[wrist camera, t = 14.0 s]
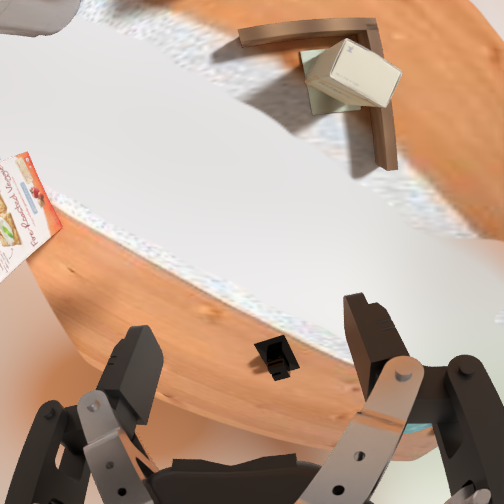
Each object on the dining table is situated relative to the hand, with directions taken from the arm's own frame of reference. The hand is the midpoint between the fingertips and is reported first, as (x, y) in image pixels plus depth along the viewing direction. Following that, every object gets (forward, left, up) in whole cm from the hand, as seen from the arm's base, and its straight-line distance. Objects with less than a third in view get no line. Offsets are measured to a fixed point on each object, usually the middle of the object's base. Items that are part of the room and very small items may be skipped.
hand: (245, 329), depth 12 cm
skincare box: (+12, +10, -30) cm, 34 cm away
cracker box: (-34, +5, -30) cm, 46 cm away
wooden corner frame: (+10, +7, -30) cm, 32 cm away
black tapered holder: (-2, -34, -31) cm, 46 cm away
